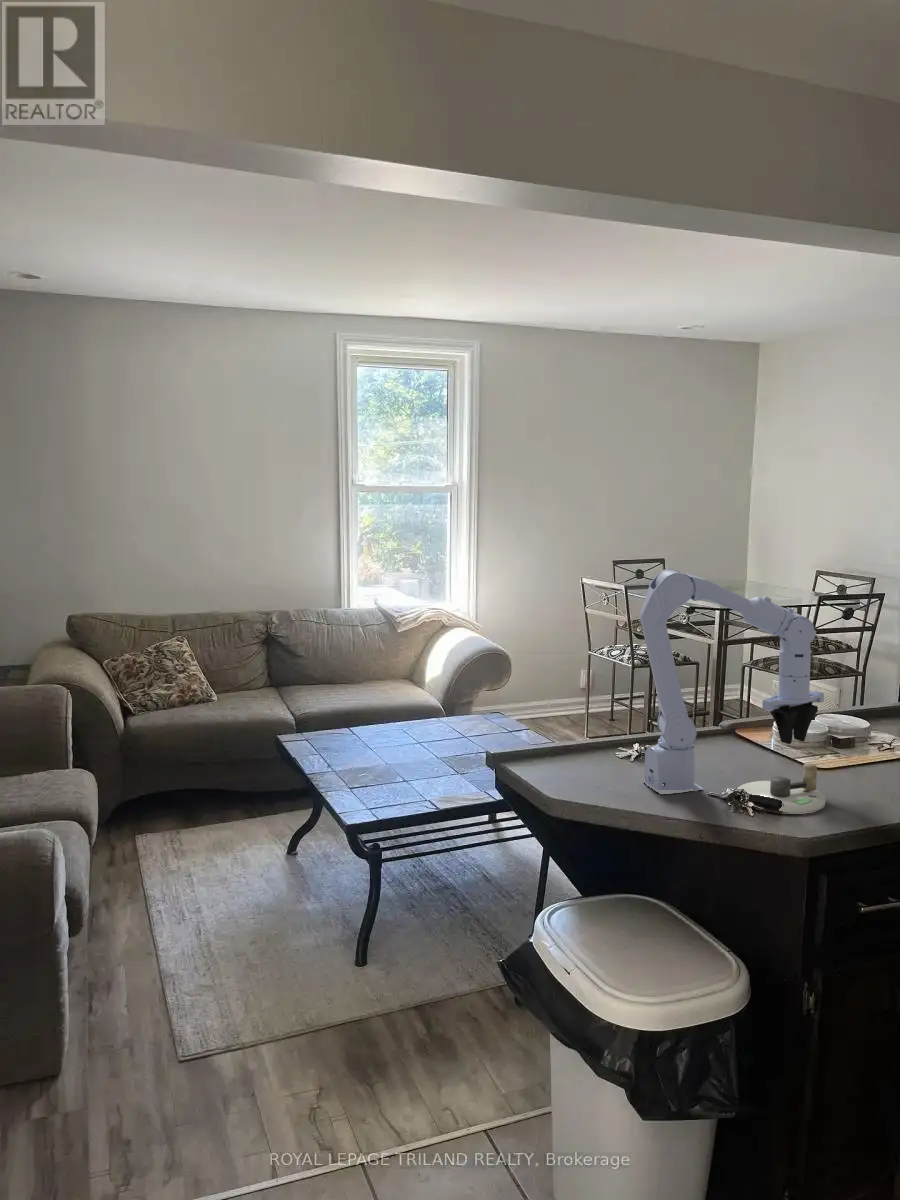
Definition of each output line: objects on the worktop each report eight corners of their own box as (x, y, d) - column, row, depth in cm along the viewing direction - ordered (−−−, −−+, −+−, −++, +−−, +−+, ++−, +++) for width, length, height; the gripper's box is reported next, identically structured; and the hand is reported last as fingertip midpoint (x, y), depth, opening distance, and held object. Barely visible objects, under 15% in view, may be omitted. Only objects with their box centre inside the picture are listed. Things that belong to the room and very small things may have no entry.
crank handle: (777, 797, 163) (778, 772, 163) (766, 791, 167) (766, 767, 166) (820, 792, 166) (821, 767, 165) (808, 786, 169) (809, 762, 169)
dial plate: (768, 819, 156) (768, 812, 156) (720, 790, 172) (720, 784, 171) (844, 809, 160) (844, 803, 160) (790, 782, 175) (790, 776, 175)
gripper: (805, 667, 176) (803, 731, 178) (751, 674, 170) (750, 741, 172) (833, 673, 170) (831, 739, 172) (778, 681, 164) (777, 750, 166)
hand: (792, 741), depth 171 cm, fingers open, 3 cm apart
